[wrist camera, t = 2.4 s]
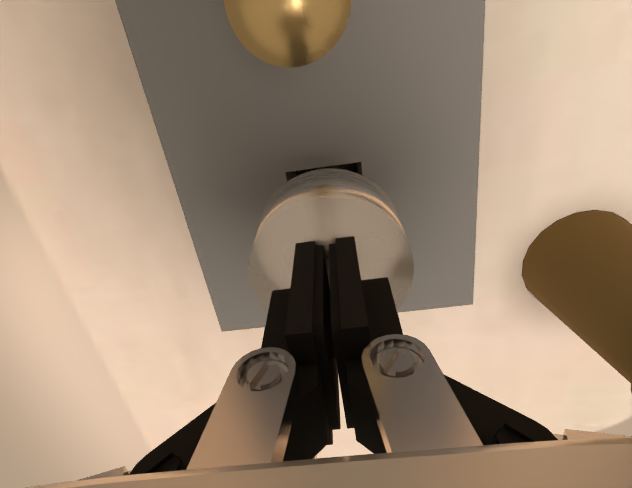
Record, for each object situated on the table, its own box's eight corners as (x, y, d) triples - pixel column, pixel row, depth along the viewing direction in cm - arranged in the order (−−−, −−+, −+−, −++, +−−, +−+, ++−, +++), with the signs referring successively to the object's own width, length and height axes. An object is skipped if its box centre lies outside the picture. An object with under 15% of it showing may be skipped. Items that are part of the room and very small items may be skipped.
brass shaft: (253, -33, 13) (208, -69, 8) (334, -48, 13) (344, -95, 8) (269, 56, 14) (239, 76, 9) (344, 44, 14) (357, 57, 9)
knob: (260, 147, 17) (231, 210, 11) (380, 130, 16) (410, 186, 11) (282, 250, 19) (266, 345, 13) (387, 237, 19) (416, 329, 13)
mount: (19, -483, 12) (-112, -703, 8) (455, -602, 11) (522, -908, 7) (236, 285, 24) (221, 331, 20) (449, 260, 23) (472, 304, 19)
